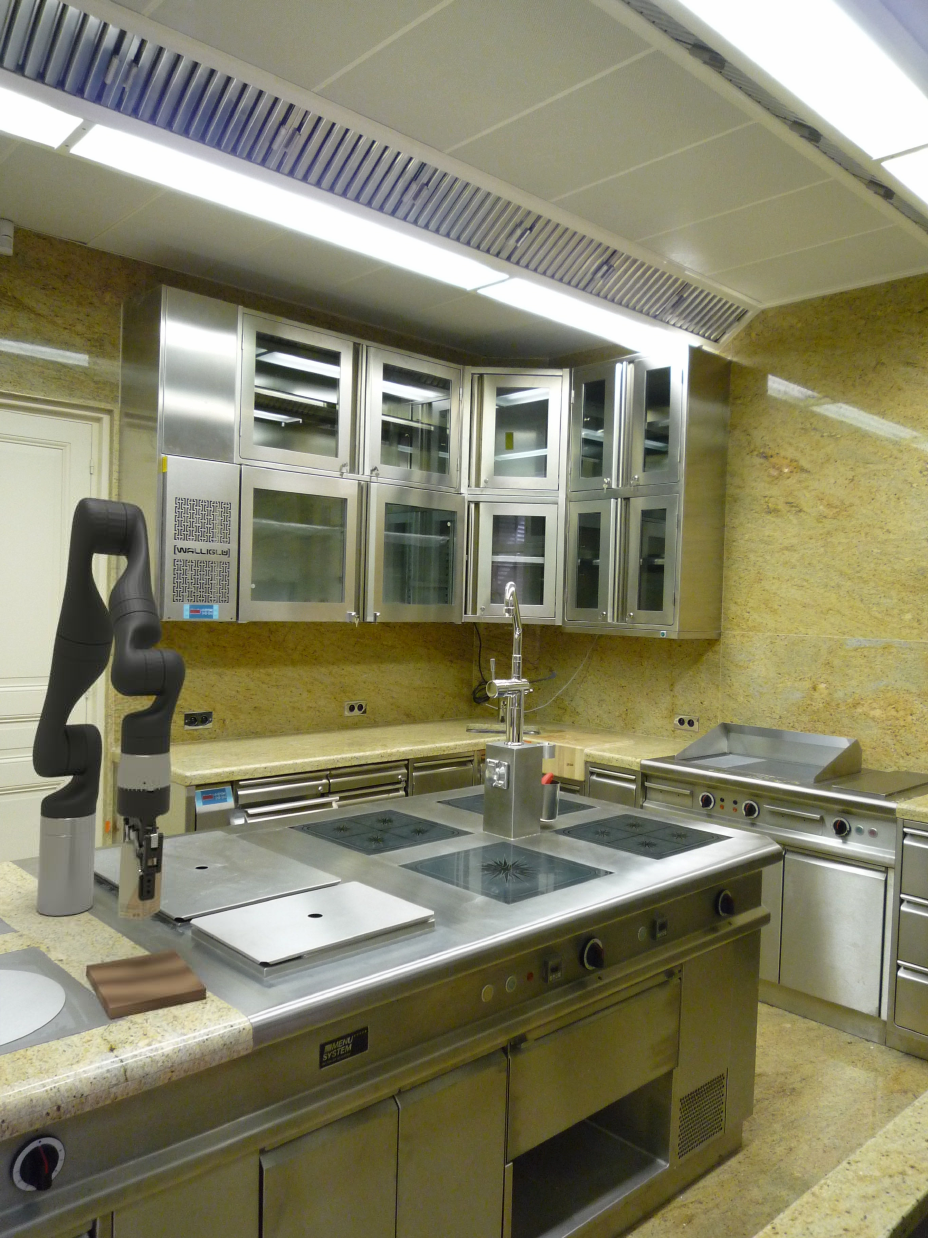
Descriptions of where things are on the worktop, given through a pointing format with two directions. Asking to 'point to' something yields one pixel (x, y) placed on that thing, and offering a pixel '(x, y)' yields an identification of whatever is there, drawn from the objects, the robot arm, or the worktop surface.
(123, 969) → the board
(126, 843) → the box
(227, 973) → the worktop surface
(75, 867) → the robot arm
